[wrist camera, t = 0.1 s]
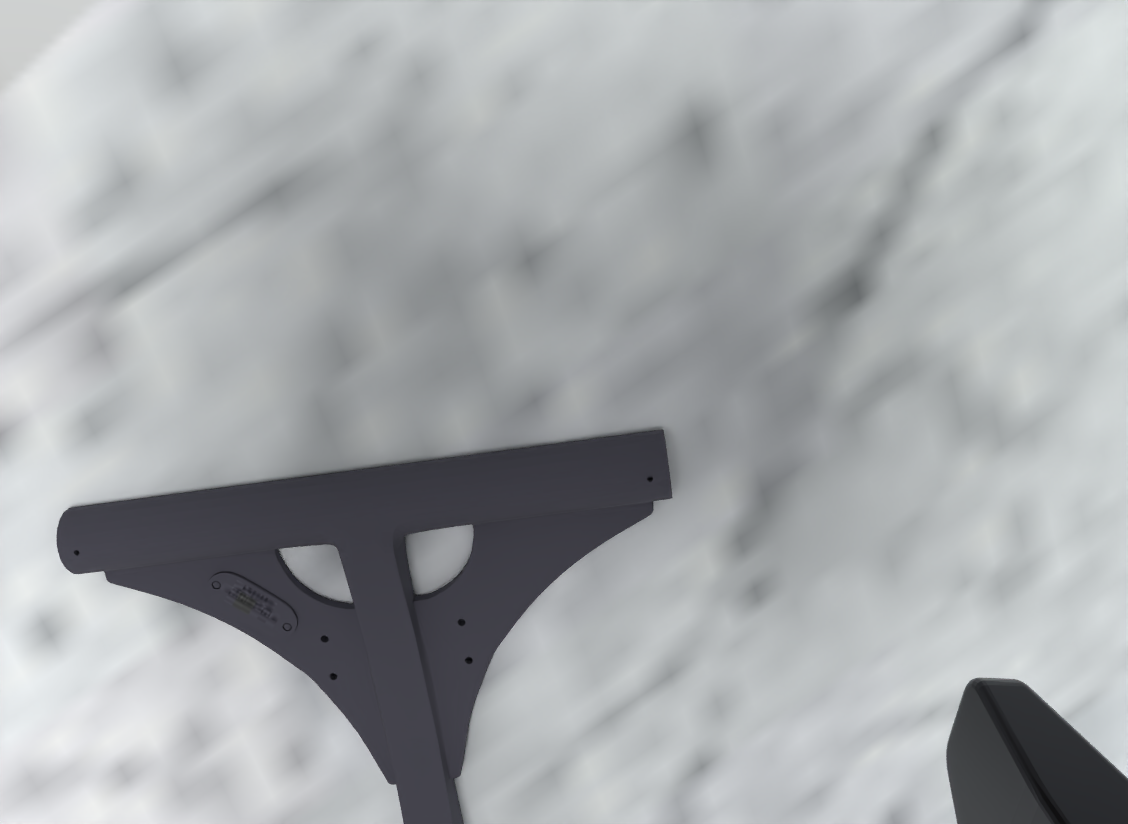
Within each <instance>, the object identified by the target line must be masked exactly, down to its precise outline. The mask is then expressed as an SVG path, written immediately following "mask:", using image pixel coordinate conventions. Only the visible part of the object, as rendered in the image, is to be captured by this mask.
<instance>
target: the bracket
mask: <svg viewBox="0 0 1128 824" xmlns="http://www.w3.org/2000/svg"><path fill="white" fill-rule="evenodd" d="M671 498H672V489H671V480H670V472H669V465H668V458H667V451H666V444H665V438H664V432H663V430H658V431H650V432H642V433H635V434H627V435H620V436H612V437H604V438H597V439H589V440H582V441H574V442H567V443H559V444H551V445H544V446H536V447H529V448H521V449H513V450H506V451H498V452H491V453H483V454H476V455H468V456H460V457H453V458H445V459H438V460H430V461H423V462H415V463H407V464H400V465H392V466H385V467H377V468H369V469H362V470H354V471H347V472H339V473H332V474H324V475H316V476H309V477H301V478H294V479H286V480H278V481H271V482H263V483H256V484H248V485H241V486H233V487H225V488H218V489H210V490H203V491H195V492H188V493H180V494H172V495H165V496H157V497H150V498H142V499H134V500H127V501H119V502H112V503H104V504H97V505H89V506H81V507H74V508H69V509H68V510H66V511H65V512H64V513H63V515H62V517H61V518H60V521H59V525H58V528H57V548H58V553H59V556H60V559H61V561H62V563H63V564H64V566H65V567H66V569H68V570H69V571H70V572H72V573H74V574H83V573H91V572H100V571H104V572H105V575H106V578H107V580H108V581H109V582H110V583H113V584H116V585H120V586H124V587H127V588H131V589H135V590H138V591H142V592H146V593H149V594H153V595H156V596H159V597H162V598H166V599H169V600H172V601H175V602H178V603H181V604H183V605H186V606H188V607H191V608H194V609H196V610H199V611H201V612H203V613H206V614H208V615H210V616H213V617H215V618H217V619H219V620H221V621H223V622H225V623H227V624H229V625H231V626H233V627H235V628H237V629H239V630H240V631H242V632H244V633H246V634H248V635H249V636H251V637H253V638H254V639H256V640H258V641H259V642H261V643H262V644H264V645H265V646H267V647H268V648H270V649H272V650H273V651H275V652H276V653H277V654H279V655H280V656H282V657H283V658H284V659H286V660H287V661H289V662H290V663H291V664H293V665H294V666H296V667H297V668H299V669H300V670H302V671H303V672H304V673H306V674H307V675H308V676H309V677H310V678H311V679H312V680H314V681H315V682H316V683H317V685H318V686H319V687H320V688H321V689H322V690H323V691H324V692H325V693H326V694H327V695H328V697H329V698H330V699H331V700H332V701H333V702H334V704H335V705H336V706H337V707H338V708H339V709H340V710H341V712H342V713H343V714H344V715H345V716H346V718H347V719H348V720H349V722H350V723H351V724H352V726H353V727H354V728H355V729H356V731H357V732H358V733H359V735H360V736H361V738H362V740H363V741H364V743H365V744H366V746H367V747H368V749H369V751H370V752H371V754H372V756H373V758H374V759H375V761H376V763H377V764H378V766H379V768H380V769H381V771H382V773H383V774H384V776H385V778H386V779H387V781H388V783H389V784H393V785H394V784H396V785H397V790H398V796H399V801H400V806H401V811H402V816H403V821H404V824H463V819H462V815H461V810H460V805H459V801H458V796H457V791H456V787H455V782H454V778H457V777H459V776H460V774H461V770H462V764H463V759H464V752H465V745H466V738H467V732H468V726H469V720H470V716H471V713H472V709H473V706H474V702H475V699H476V696H477V694H478V691H479V689H480V686H481V684H482V681H483V678H484V676H485V673H486V671H487V668H488V666H489V663H490V661H491V659H492V656H493V654H494V652H495V651H496V649H497V647H498V646H499V645H500V643H501V642H502V641H503V639H504V638H505V637H506V635H507V634H508V633H509V631H510V630H511V628H512V627H513V626H514V624H515V623H516V622H517V620H518V619H519V618H520V617H521V616H522V614H523V613H524V612H525V611H526V609H527V608H528V607H529V606H530V605H531V604H532V603H533V601H534V600H535V599H536V598H537V597H538V596H539V595H540V594H541V593H542V592H543V591H544V590H545V589H546V588H547V587H548V586H549V585H550V584H551V583H552V582H553V581H554V580H556V579H557V578H558V577H559V576H560V575H561V574H562V573H563V572H565V571H566V570H567V569H568V568H569V567H571V566H572V565H573V564H574V563H576V562H577V561H578V560H580V559H581V558H582V557H584V556H585V555H586V554H588V553H589V552H591V551H592V550H594V549H595V548H596V547H598V546H599V545H601V544H602V543H604V542H606V541H607V540H609V539H610V538H612V537H614V536H615V535H617V534H618V533H620V532H622V531H624V530H625V529H627V528H629V527H630V526H632V525H634V524H636V523H637V522H639V521H641V520H642V519H644V518H646V517H647V516H649V515H650V514H652V512H653V501H657V500H664V499H671ZM470 524H472V525H473V527H474V540H473V548H472V552H471V555H470V558H469V560H468V562H467V564H466V565H465V567H464V568H463V570H462V571H461V572H460V574H459V575H458V576H457V577H456V578H455V579H454V580H452V581H451V582H450V583H448V584H447V585H445V586H444V587H442V588H440V589H439V590H437V591H435V592H432V593H430V594H426V595H418V596H415V595H414V591H413V586H412V582H411V577H410V572H409V566H408V560H407V554H406V544H405V536H406V535H409V534H412V533H417V532H422V531H428V530H434V529H440V528H447V527H454V526H461V525H470ZM322 544H330V545H334V546H336V547H337V549H338V551H339V554H340V558H341V561H342V564H343V568H344V571H345V575H346V578H347V582H348V585H349V589H350V592H351V596H352V599H353V603H352V604H349V603H343V602H338V601H334V600H330V599H327V598H325V597H322V596H320V595H318V594H316V593H314V592H312V591H311V590H309V589H308V588H306V587H305V586H304V585H303V584H301V583H300V582H299V581H298V580H297V579H296V578H295V577H294V576H293V575H292V573H291V572H290V570H289V569H288V568H287V566H286V564H285V563H284V561H283V559H282V558H281V556H280V554H279V551H278V549H280V548H290V547H299V546H308V545H322ZM461 619H464V620H461ZM469 657H471V658H469ZM334 673H335V674H334Z"/></svg>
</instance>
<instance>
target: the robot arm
mask: <svg viewBox="0 0 1128 824" xmlns="http://www.w3.org/2000/svg"><path fill="white" fill-rule="evenodd" d="M946 760H947V770H948V776H949V782H950V787H951V792H952V798H953V803H954V809H955V814H956V819H957V824H1128V778H1127V777H1126V776H1125V775H1124V774H1122V773H1121V772H1120V771H1119V770H1118V769H1117V768H1116V767H1115V766H1114V765H1113V764H1112V763H1111V762H1110V761H1109V760H1107V759H1106V758H1105V757H1104V756H1103V755H1102V754H1101V753H1100V752H1099V751H1098V750H1097V749H1096V748H1095V747H1093V746H1092V745H1091V744H1090V743H1089V742H1088V741H1087V740H1086V739H1085V738H1084V737H1083V736H1082V735H1081V734H1079V733H1078V732H1077V731H1076V730H1075V729H1074V728H1073V727H1072V726H1071V725H1070V724H1069V723H1068V722H1067V721H1065V720H1064V719H1063V718H1062V717H1061V716H1060V715H1059V714H1058V713H1057V712H1056V711H1055V710H1054V709H1053V708H1051V707H1050V706H1049V705H1048V704H1047V703H1046V702H1045V701H1044V700H1043V699H1042V698H1041V697H1040V696H1039V695H1038V694H1036V693H1035V692H1034V691H1033V690H1032V689H1031V688H1030V687H1029V686H1027V685H1026V684H1025V683H1023V682H1021V681H1019V680H1016V679H1000V678H975V679H972V680H971V681H970V682H969V683H968V684H967V686H966V688H965V690H964V693H963V696H962V699H961V702H960V705H959V708H958V711H957V714H956V718H955V721H954V724H953V727H952V730H951V733H950V736H949V740H948V744H947V755H946Z"/></svg>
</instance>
